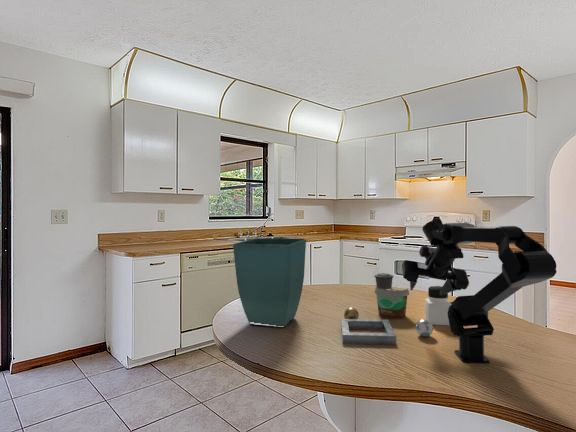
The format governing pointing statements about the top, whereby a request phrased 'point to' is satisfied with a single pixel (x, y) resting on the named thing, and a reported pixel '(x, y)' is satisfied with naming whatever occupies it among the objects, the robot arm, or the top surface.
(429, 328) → the steel ball
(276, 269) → the flower pot
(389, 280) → the coffee cup
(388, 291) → the food container
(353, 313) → the bronze ball
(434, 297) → the medicine bottle
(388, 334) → the grey square frame
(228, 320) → the top surface
